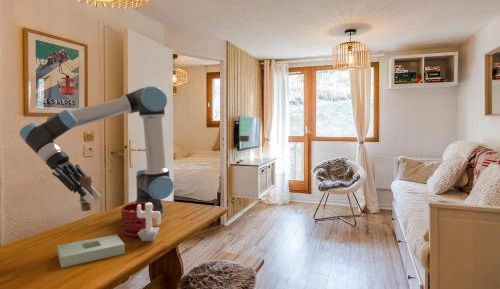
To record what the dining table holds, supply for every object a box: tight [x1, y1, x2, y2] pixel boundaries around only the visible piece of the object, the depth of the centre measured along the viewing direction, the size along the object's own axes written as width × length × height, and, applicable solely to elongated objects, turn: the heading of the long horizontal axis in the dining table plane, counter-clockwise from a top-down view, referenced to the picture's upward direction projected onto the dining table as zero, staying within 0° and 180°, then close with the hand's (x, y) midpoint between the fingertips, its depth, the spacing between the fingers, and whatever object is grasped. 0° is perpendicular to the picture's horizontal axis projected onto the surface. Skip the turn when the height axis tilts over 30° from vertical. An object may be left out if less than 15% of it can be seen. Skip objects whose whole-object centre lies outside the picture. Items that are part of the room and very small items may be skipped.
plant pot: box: [120, 202, 154, 238], centre depth 134 cm, size 13×13×12 cm
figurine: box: [137, 202, 162, 242], centre depth 128 cm, size 7×9×15 cm
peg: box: [78, 175, 92, 212], centre depth 123 cm, size 4×4×13 cm
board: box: [57, 233, 126, 268], centre depth 113 cm, size 20×12×4 cm, turn 126°
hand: (95, 199), depth 123 cm, fingers closed on peg, 4 cm apart
